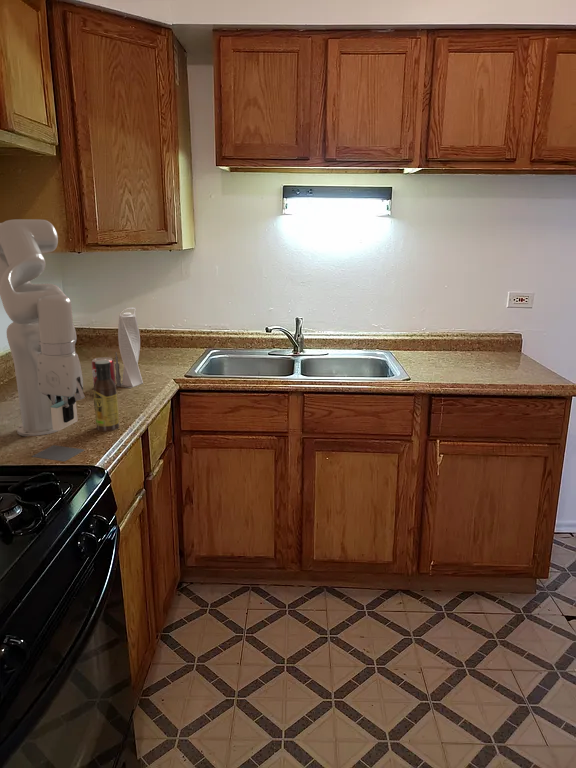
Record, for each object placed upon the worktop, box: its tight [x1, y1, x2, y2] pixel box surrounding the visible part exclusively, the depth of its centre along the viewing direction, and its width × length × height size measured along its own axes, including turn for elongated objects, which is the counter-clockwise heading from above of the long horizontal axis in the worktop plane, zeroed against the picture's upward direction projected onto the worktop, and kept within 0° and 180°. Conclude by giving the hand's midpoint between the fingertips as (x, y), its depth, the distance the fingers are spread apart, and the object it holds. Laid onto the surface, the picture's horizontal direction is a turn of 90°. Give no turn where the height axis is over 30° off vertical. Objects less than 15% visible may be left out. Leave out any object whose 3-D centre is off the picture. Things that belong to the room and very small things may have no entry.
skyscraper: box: [114, 307, 144, 389], centre depth 207 cm, size 8×8×28 cm
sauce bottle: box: [92, 360, 120, 432], centre depth 161 cm, size 6×6×20 cm
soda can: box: [91, 357, 116, 385], centre depth 198 cm, size 7×7×12 cm
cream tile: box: [51, 397, 79, 432], centre depth 143 cm, size 7×2×6 cm, turn 162°
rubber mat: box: [31, 444, 85, 462], centre depth 146 cm, size 8×10×1 cm
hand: (64, 419), depth 143 cm, fingers closed on cream tile, 1 cm apart
